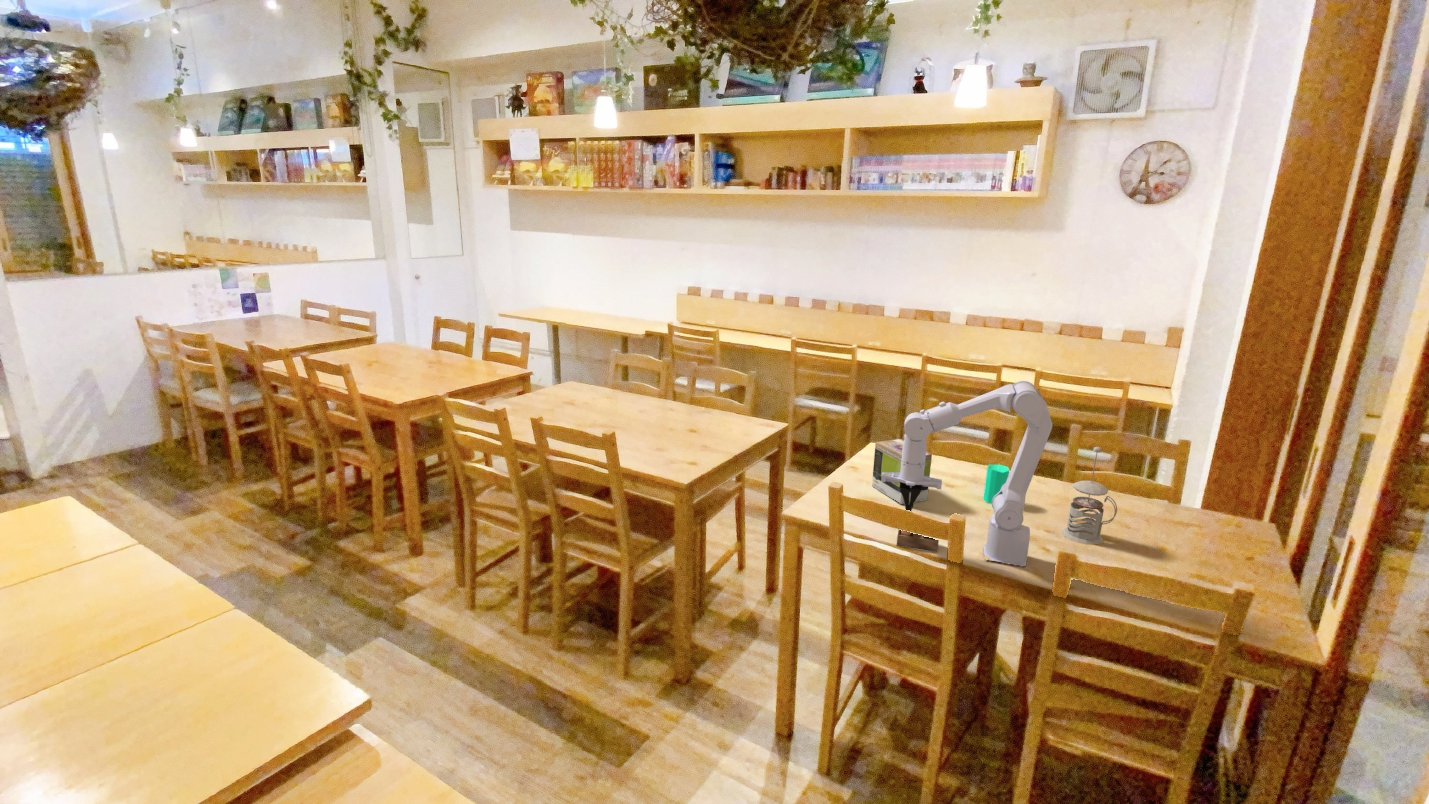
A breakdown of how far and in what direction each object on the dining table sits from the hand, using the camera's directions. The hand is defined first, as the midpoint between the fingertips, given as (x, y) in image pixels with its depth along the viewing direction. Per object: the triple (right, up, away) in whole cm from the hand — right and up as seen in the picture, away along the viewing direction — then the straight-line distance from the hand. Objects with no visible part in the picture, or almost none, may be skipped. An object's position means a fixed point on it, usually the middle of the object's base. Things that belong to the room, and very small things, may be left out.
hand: (908, 510), depth 176 cm
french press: (+49, -8, +7) cm, 50 cm away
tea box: (+6, 0, +33) cm, 34 cm away
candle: (+33, -2, +28) cm, 44 cm away
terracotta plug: (0, -7, +2) cm, 8 cm away
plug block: (+3, -9, +2) cm, 10 cm away
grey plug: (+6, -7, 0) cm, 9 cm away
